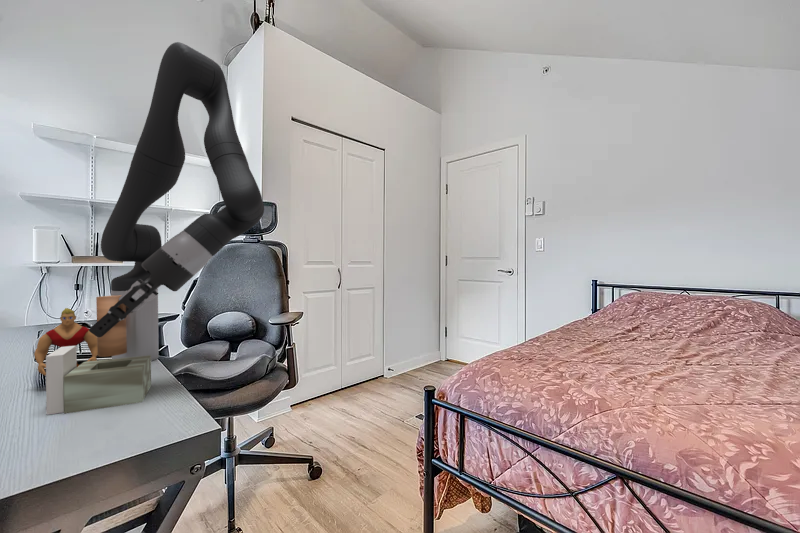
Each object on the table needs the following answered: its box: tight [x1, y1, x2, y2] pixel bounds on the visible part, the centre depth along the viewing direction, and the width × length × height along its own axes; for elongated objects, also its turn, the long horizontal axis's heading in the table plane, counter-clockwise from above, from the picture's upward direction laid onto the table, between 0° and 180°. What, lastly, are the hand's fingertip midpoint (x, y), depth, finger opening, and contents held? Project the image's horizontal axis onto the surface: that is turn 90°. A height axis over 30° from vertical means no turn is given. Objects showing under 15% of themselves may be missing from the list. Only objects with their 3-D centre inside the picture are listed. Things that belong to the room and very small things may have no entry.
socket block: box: [63, 355, 152, 415], centre depth 64 cm, size 10×10×6 cm
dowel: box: [95, 295, 127, 358], centre depth 64 cm, size 4×4×10 cm
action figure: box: [33, 307, 98, 376], centre depth 71 cm, size 10×4×15 cm, turn 129°
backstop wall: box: [45, 346, 78, 416], centre depth 60 cm, size 8×2×9 cm, turn 30°
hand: (97, 331), depth 63 cm, fingers closed on dowel, 4 cm apart
